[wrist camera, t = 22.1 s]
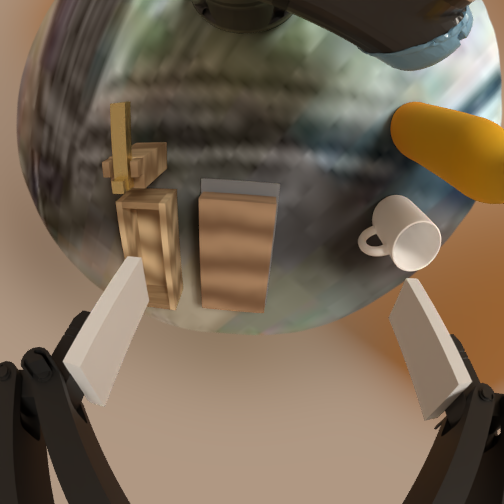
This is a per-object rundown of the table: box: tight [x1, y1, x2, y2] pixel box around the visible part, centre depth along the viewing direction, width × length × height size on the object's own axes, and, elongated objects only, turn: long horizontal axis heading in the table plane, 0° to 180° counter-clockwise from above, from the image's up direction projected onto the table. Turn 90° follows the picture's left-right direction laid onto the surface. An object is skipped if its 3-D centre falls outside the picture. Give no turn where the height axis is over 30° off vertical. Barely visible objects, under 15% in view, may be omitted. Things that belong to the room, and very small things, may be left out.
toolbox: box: [102, 142, 183, 310], centre depth 43 cm, size 28×8×11 cm, turn 176°
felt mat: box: [201, 178, 280, 305], centre depth 50 cm, size 24×12×1 cm, turn 176°
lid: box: [199, 192, 277, 313], centre depth 48 cm, size 21×11×4 cm, turn 176°
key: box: [110, 101, 134, 194], centre depth 31 cm, size 11×2×3 cm, turn 176°
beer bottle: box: [390, 102, 504, 204], centre depth 25 cm, size 9×9×29 cm
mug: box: [358, 195, 441, 271], centre depth 41 cm, size 12×8×10 cm
